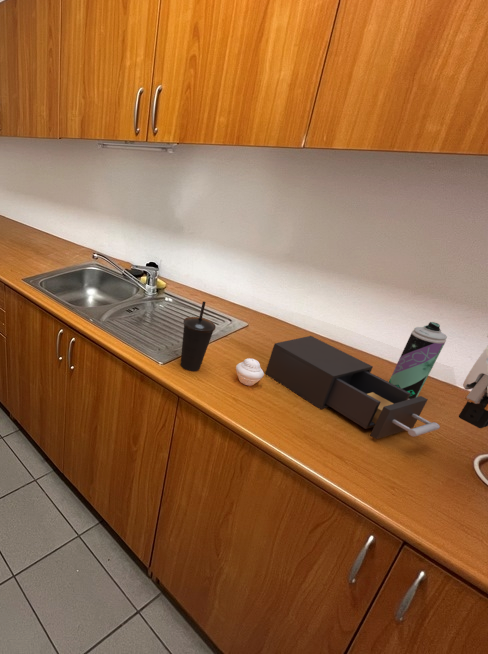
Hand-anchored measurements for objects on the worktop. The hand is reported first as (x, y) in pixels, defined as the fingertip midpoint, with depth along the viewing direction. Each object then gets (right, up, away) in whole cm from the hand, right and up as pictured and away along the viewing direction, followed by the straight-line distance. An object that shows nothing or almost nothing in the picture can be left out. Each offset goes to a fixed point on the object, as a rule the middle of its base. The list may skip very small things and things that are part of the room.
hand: (472, 422), depth 73 cm
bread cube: (-3, -4, +16) cm, 17 cm away
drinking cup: (-33, +2, +37) cm, 50 cm away
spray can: (+13, -2, +25) cm, 28 cm away
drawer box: (-7, -1, +28) cm, 29 cm away
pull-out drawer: (-3, -5, +16) cm, 17 cm away
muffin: (-22, -1, +30) cm, 37 cm away
